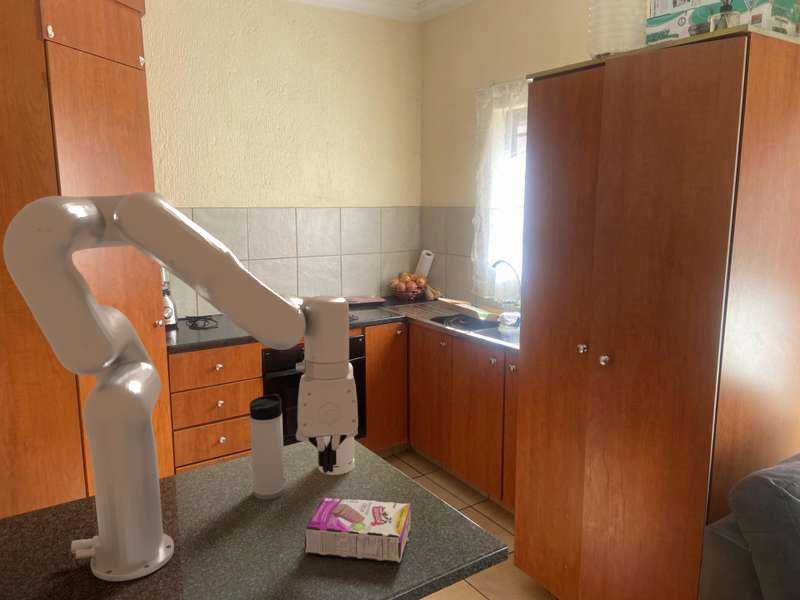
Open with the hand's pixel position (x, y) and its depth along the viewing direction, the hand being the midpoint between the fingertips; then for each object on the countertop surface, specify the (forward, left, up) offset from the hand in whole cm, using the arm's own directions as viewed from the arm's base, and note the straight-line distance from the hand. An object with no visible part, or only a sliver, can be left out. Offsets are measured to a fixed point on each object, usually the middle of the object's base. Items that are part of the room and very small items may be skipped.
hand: (327, 469), depth 102 cm
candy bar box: (-3, -1, -9) cm, 10 cm away
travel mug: (-10, +18, -12) cm, 24 cm away
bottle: (+5, +26, -12) cm, 29 cm away
